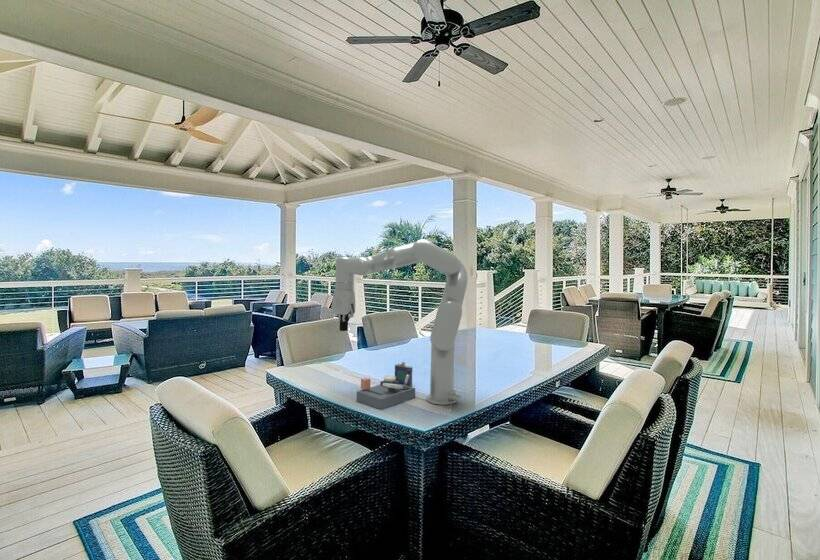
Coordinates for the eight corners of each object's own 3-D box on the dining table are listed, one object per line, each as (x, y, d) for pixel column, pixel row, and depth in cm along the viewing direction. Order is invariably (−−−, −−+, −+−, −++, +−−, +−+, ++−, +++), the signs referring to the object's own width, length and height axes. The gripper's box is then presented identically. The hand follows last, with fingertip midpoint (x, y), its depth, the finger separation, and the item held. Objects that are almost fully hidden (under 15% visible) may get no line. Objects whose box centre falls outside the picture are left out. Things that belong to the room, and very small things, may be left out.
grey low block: (415, 397, 175) (415, 384, 175) (381, 409, 160) (381, 395, 160) (390, 390, 184) (391, 377, 184) (356, 401, 169) (356, 387, 169)
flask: (413, 385, 192) (413, 362, 191) (409, 387, 189) (410, 364, 189) (396, 382, 196) (396, 360, 196) (392, 384, 194) (392, 361, 194)
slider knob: (370, 388, 172) (370, 378, 171) (364, 390, 169) (365, 379, 169) (366, 387, 173) (366, 377, 173) (360, 388, 171) (361, 378, 171)
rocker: (402, 388, 171) (403, 386, 171) (389, 387, 165) (389, 384, 165) (395, 386, 174) (395, 384, 174) (382, 385, 168) (382, 382, 168)
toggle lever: (408, 387, 173) (413, 370, 175) (404, 386, 172) (410, 368, 174) (404, 386, 175) (409, 369, 177) (400, 385, 173) (406, 367, 175)
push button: (398, 384, 178) (398, 377, 178) (389, 386, 175) (389, 379, 175) (389, 381, 182) (389, 374, 182) (381, 384, 178) (381, 377, 178)
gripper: (326, 285, 176) (325, 329, 177) (349, 288, 167) (348, 333, 167) (340, 285, 182) (339, 327, 183) (363, 287, 172) (362, 331, 173)
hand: (343, 330), depth 175 cm, fingers closed
